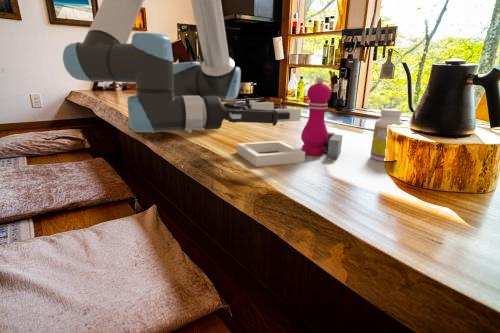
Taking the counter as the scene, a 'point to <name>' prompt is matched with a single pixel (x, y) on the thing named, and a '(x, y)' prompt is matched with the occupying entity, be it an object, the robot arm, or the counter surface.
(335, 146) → the corner bracket
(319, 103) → the pepper mill
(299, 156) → the socket
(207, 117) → the robot arm
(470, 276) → the counter surface
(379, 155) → the supplement bottle
